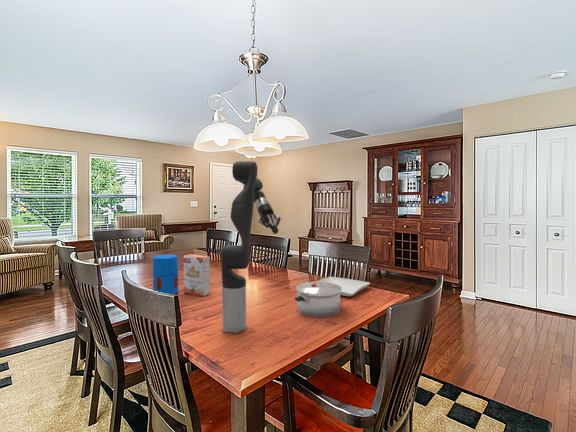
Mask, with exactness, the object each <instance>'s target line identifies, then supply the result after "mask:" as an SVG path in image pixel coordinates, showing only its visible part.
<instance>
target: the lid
mask: <svg viewBox="0 0 576 432" xmlns="http://www.w3.org/2000/svg"><path fill="white" fill-rule="evenodd" d="M341 291H342V289H341V287H340V286H339V285H336V284H333V283H328V282H317V281H305V282H301V283H298V284H297V285H296V293H297V292H298V293H300V294H302V295H306V296H312V297H330V296H335V295H338V294H340V293H341Z"/></svg>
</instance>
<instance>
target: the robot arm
mask: <svg viewBox="0 0 576 432" xmlns="http://www.w3.org/2000/svg"><path fill="white" fill-rule="evenodd" d="M257 164H258V163H256V162H255V161H251V160H250V161H249V160H238V161H235V162H234V163H232V168H231V169H232V177H233V179H234V181H235V182H238V183H241V184H243V189H242V190H241V191H240V192H239V193H238V194H237V195H236V197H234V199H233V200H232V203H231V208H230V220H231V222H232V224H233V225H234V227H235V228H236V230H237V232H238V235H239V236H240V239H241V245H231V244H229V245H224V246H223V247H222V248H221V253H220V263H221V265H220V267H221V282H222V289H221V290H222V293H221V294H222V330H223V331H222V332H223V333H235V334H238V333H240V332H242V331H243V332H244V331H245V330H246V329H247V280H246V278H245V276H243V275H239V274H237V273H236V272H234V271H233V270H245V269H247V268H248V267H249V264H250V257H251V254H250V253H251V233H252V232H251V231H252V230H251V229H252V221H253V215H254V205H255V209H256V211H257V213H258V215H259V217H260V218H259V220H258V223H259V224H261V225H263V226H264V227H266V229H268V228H269V229H270V230H271V232H272V234H274V235H276V234H278V233H279V228H278V226H279V224H280V222H281V219H282V218H281V217H279V216H276V214H275V211H274V209H273V207H272V206H271V204H270V202H269V200H268V199H267V196H266V195H265V193H264V191H262V189H263V187H264V186H263V182H262V181H261V179H260V178H258V165H257Z"/></svg>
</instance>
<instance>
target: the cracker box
mask: <svg viewBox="0 0 576 432" xmlns="http://www.w3.org/2000/svg"><path fill="white" fill-rule="evenodd" d="M210 257H211V256H207V255H200V254H193V253H190V254H185V255H183V293H185V294H190V295H194V296H199V297H205V296H208V295H210V294H211V264H210V263H211V258H210Z"/></svg>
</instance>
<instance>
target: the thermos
mask: <svg viewBox="0 0 576 432" xmlns="http://www.w3.org/2000/svg"><path fill="white" fill-rule="evenodd" d="M152 284H153V286H152V289H153V290H154V291H158V292H163V293H169V294H174V295H178V296H179V258H178V255H176V254H160V255H155V256H153V257H152ZM153 290H152V291H153ZM179 297H180V296H179Z"/></svg>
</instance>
